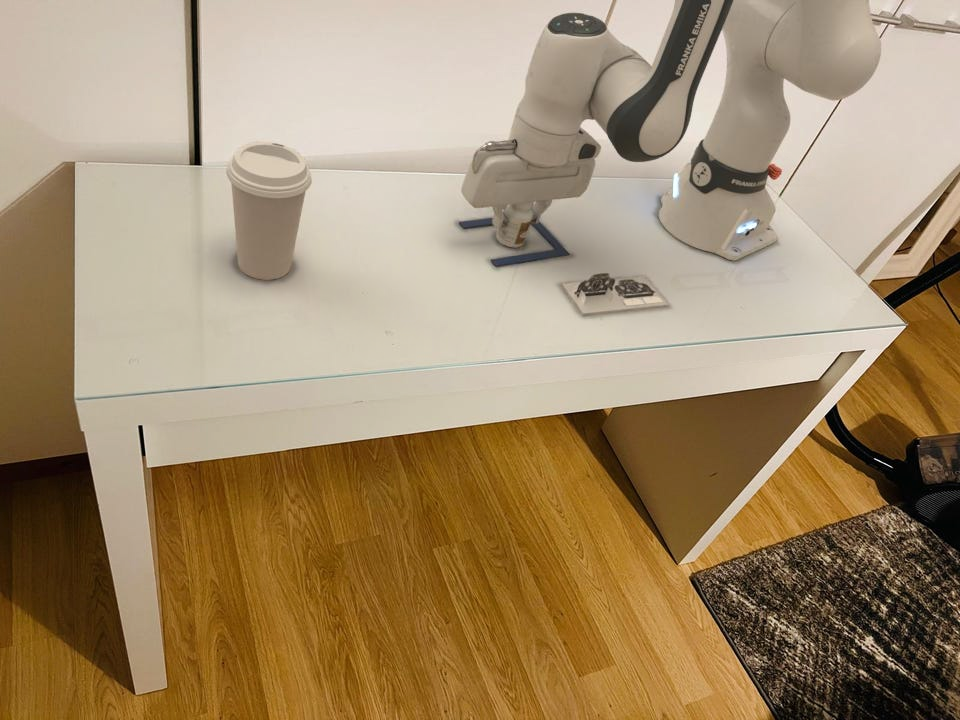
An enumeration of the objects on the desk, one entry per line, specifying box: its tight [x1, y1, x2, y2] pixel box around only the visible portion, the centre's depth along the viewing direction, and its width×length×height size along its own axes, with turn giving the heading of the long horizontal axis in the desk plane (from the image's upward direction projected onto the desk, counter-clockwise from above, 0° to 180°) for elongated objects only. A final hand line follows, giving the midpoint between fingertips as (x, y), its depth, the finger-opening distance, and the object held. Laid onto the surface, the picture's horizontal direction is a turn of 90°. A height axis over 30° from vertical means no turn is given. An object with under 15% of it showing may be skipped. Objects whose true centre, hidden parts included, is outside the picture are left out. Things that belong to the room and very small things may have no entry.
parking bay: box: [458, 217, 570, 268], centre depth 115 cm, size 14×11×1 cm
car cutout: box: [560, 272, 669, 317], centre depth 108 cm, size 15×7×4 cm, turn 113°
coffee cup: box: [225, 141, 313, 281], centre depth 92 cm, size 10×10×15 cm
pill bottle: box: [495, 202, 535, 248], centre depth 112 cm, size 4×4×8 cm
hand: (514, 223), depth 112 cm, fingers closed on pill bottle, 4 cm apart
